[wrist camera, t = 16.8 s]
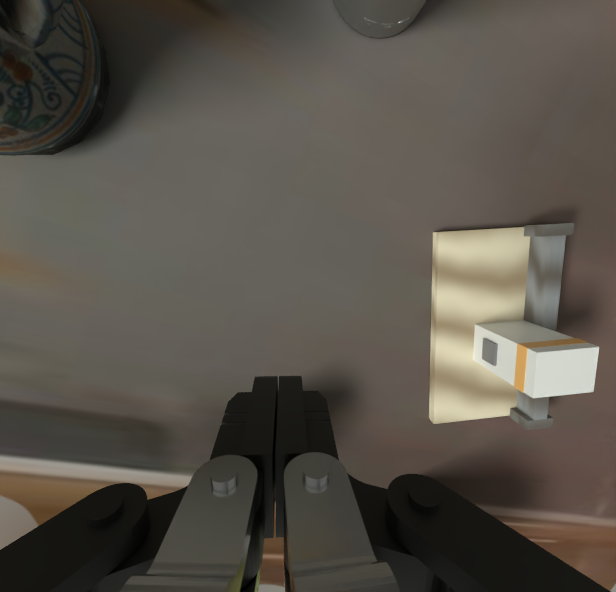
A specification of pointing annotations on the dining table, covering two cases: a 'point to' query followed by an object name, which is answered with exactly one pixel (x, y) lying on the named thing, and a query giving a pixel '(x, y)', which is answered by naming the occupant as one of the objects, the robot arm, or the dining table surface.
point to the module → (536, 358)
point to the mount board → (490, 315)
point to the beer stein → (48, 76)
